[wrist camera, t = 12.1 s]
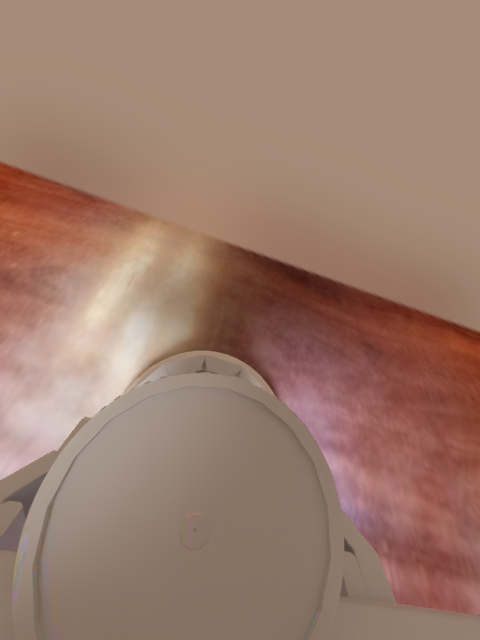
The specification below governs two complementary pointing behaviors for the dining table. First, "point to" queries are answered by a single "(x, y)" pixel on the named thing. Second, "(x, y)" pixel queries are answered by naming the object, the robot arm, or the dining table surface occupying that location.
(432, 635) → the robot arm
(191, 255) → the dining table surface
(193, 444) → the bottle
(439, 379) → the dining table surface
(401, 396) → the dining table surface
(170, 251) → the dining table surface
